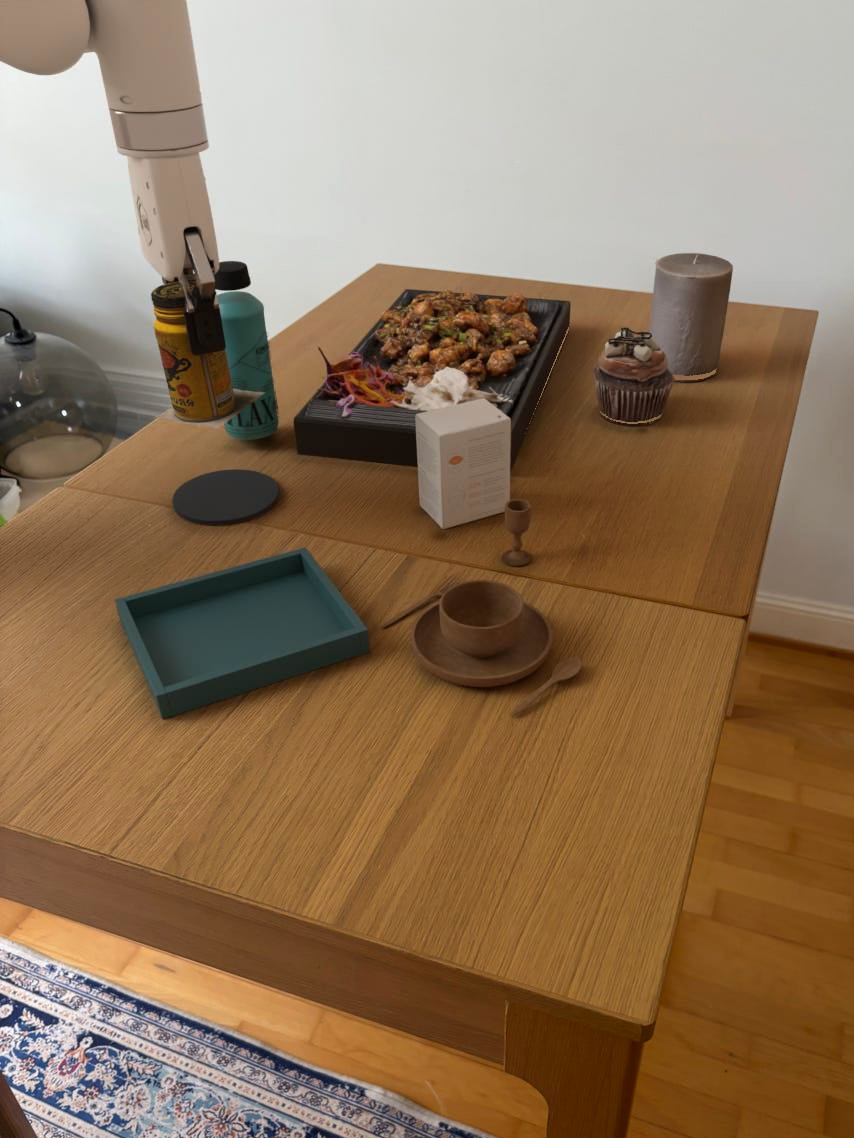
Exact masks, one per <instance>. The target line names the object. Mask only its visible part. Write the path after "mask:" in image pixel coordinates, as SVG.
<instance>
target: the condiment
mask: <svg viewBox="0 0 854 1138" xmlns="http://www.w3.org/2000/svg"><path fill="white" fill-rule="evenodd" d="M188 284H189V288H190V292H191V291H192V289H193V287H195V286H197V285H196V282H190V283H188ZM191 296H192V293H191ZM150 298H151V301H152V305H153V314H154V315H155V319H154V322H153V329H154V334H155V339H156V342H157V345H158V350H159V355H160V359H161V364H162V367H163V370H164V376H165V380H166V383H167V389H168V394H169V398H170V402H171V407H169V408H168V409H166V410H165V411H163V412H161V414H158V415H155V416H154V417H155V418H157V419H163V420H166V421H167V420H168V421H171V422H175V423H180V424H187V425H192V426H200V427H206V428H213V429H219V428H220V427H221V426H224V423H226V422H227V421H229V420H230V419H231V418H233V417H234V416H236V415H237V414H239V413H240V412H241V411H242V410H243V409H244V408H245V407H246V406H248V405H250V404H251V403H253V402H254V401H255V400H257V399H258V398H259V397H260V396H261V395H263V394H264V393H265V392H252V391H244V390H238V389H233V388H232V382H231V377H230V372H229V367H228V361H227V356H226V351H225V350H223V351H218V352H213V353H207V354H202V355H193V354H192V353H191V351H190V346H189V341H188V336H187V330H186V325H185V320H184V314H183V311H187V310H186V306H185V302H184V298H183V295H182V291H181V287H180V283H179V281H178V282H172V283H167V284H164V285H163V284H161V285H158V286H157V287H155V288H154V289H153V290H152V292H151V293H150Z"/></svg>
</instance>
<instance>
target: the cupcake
mask: <svg viewBox="0 0 854 1138" xmlns="http://www.w3.org/2000/svg"><path fill="white" fill-rule="evenodd" d="M635 335H637V336H636V337H635ZM667 366H668V361H667V357H666V354H665V353H664V352H663V351H661V349H660V347H659V344H658V343H657V342H656V341H655V340H654V339H653V338H652V334H651V333H650V332H649V331H634V330H631V329H630V328H629V327H628V326H627V327H626V326H624V327H621V328H620V331H618V332H617V333H615V336H614V338H609V339H608V341H607V342H606V343H605V344H604V350H603V351H602V352H601V353H600V355H599V357H598V360H597V362H596V364H595V366H594V368H593V379H594V384H595V389H596V396H597V404H598V405H597V406H598V411H599V410H600V411H601V412H602V413H603V414H606V416H608V417H609V418H612V419H613V420H614V419H615V420H621V421H625V422H638V421H645V420H646V421H647V420H649V419H652V418H654V417H658V416H659V415H661V414H664V412H665V409H666V407H667V402H668V399H669V396H670V393H671V390H672V387H673V385H674V382H675V381H674V379H675V378H674V376H673V374H671V372H670V370H669V369H667ZM600 411H599V415H600V417H601V418H602V419H604V420H605V421H607V422H610V423H612V424H616V425H621V426H624V427H625V426H626V427H643V426H648V425H652V424H654V423H656V422H658V421H660V420H661V418H663V415H662V416H661V417H660V418H658V419H656V420H654V421H651V422H647V423H638V424H627V423H621V422H616V421H613V420H610V419H609V418H606V417H605V416H603V415H602V414H601V413H600Z"/></svg>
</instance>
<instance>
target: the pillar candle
mask: <svg viewBox="0 0 854 1138" xmlns="http://www.w3.org/2000/svg"><path fill="white" fill-rule="evenodd" d="M654 264H655V273H654V280H653V281H654V283H653V291H652V298H651V299H652V300H651V308H650V317H649V324H648V325H649V326H648V332H650V333H651V334H652V338H653V339H654V340H655V341H656V342H657V343H658V344H659V347H660V349H661V351H663V352H664V353H665V354H666V357H667V361H668V366H667V369H669V370H670V372H671V374H673V375H684V376H690V375H691V376H693V375H700V374H701V375H702V374H706V373H710V372H712V371H713V370H715V369H716V368H717V367H718V368H719V362H720V356H721V349H722V343H723V338H724V333H725V326H726V319H727V314H728V307H729V300H730V293H731V287H732V279H733V273H734V272H733V271H734V265H733V264H732V263H731V262H730V261H729V260H726V259H724V258H722V257H719V256H717V255H712V254H707V253H706V254H705V253H698V252H683V253H682V252H681V253H680V252H679V253H672V254H668V255H665V256H662V257H660V258H659V259H656V261H655V263H654ZM718 368H717V369H718ZM717 373H718V371H717V372H716V373H715V374H714V375H712V376H710V377H707V378H704V379H698V380H675V379H674V382H676V383H677V382H678V383H695V382H701V381H705V380H708V379H710V378H712V377H714V376H715V375H716V374H717Z"/></svg>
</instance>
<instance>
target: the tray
mask: <svg viewBox="0 0 854 1138" xmlns="http://www.w3.org/2000/svg"><path fill="white" fill-rule="evenodd" d="M114 604H115V608H116V611H117V615H118V618H119V621H120V624H121V627H122V629H123V631H124V633H125V635H126V638H127V640H128V643H129V645H130V648H131V649H132V653H133V654H134V657H135V659H136V662H137V663H138V666H139V668H140V672H141V673H142V676H143V677H144V680H145V683H146V685H147V687H148V690H149V692H150V694H151V697H152V699H153V701H154V704H155V706H156V708H157V711H158V712H159V715H160V717H161V720H165V719H167V718H170V717H174V716H178V715H181V714H183V713H186V712H190V711H193V710H195V709H199V708H202V707H205V706H208V705H211V704H214V703H217V702H220V701H223V700H227V699H229V698H232V697H235V696H238V695H242V694H245V693H247V692H251V691H253V690H254V691H255V690H258V689H261V688H264V687H266V686H269V685H272V684H276V683H279V682H282V681H284V680H288V679H290V678H291V679H292V678H294V677H297V676H300V675H303V674H307V673H310V672H312V671H316V670H318V669H322V668H325V667H328V666H332V665H334V664H338V663H340V662H344V661H346V660H349V659H353V658H356V657H359V656H361V655H365V654H369V653H371V645H370V635H369V629H368V628H367V626H366V625H365V624H364V622H363V620H362V619H361V618H360V617H359V616H358V614H357V613H356V611H355V610H354V609H353V607H352V606H351V605H350V604H349V602H348V601H347V599H346V598H345V597H344V596H343V594H342V593H341V592H340V590H339V589H338V587H337V586H336V585H335V584H334V582H333V581H332V580H331V579H330V577H329V576H328V574H327V573H326V572H325V570H324V569H323V568H322V567H321V565H320V564H319V562H318V561H317V560H316V559H315V558H314V556H313V555H312V553H311V552H310V551H309V549H308V548H307V547H301V548H297V549H294V550H290V551H287V552H283V553H279V554H276V555H272V556H268V557H264V558H262V559H257V560H254V561H250V562H246V563H243V564H238V565H235V566H232V567H228V568H224V569H220V570H217V571H213V572H210V573H206V574H202V575H198V576H195V577H190V578H186V579H184V580H181V581H177V582H172V583H169V584H165V585H162V586H158V587H154V588H151V589H147V590H144V591H140V592H135V593H133V594H129V595H125V596H122V597H118V598H115V599H114Z"/></svg>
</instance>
